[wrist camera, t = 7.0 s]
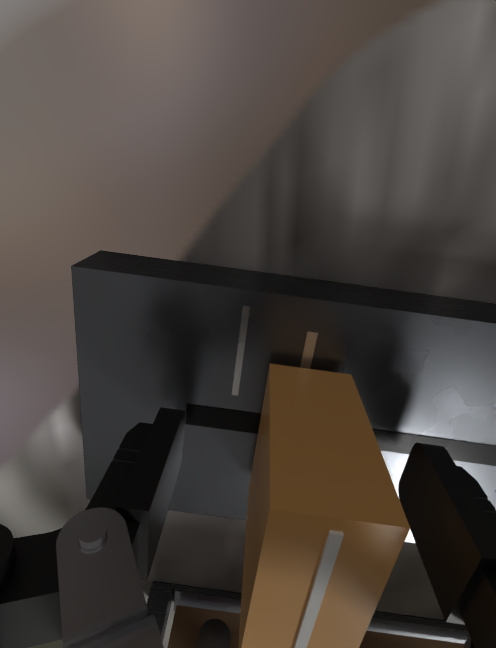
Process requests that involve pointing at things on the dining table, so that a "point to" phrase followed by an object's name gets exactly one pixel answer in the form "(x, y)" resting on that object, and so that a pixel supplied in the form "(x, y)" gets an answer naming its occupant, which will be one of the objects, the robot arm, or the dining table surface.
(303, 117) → the dining table surface
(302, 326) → the console
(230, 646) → the door
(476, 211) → the dining table surface
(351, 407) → the fader
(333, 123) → the dining table surface
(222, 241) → the dining table surface
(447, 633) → the frame
